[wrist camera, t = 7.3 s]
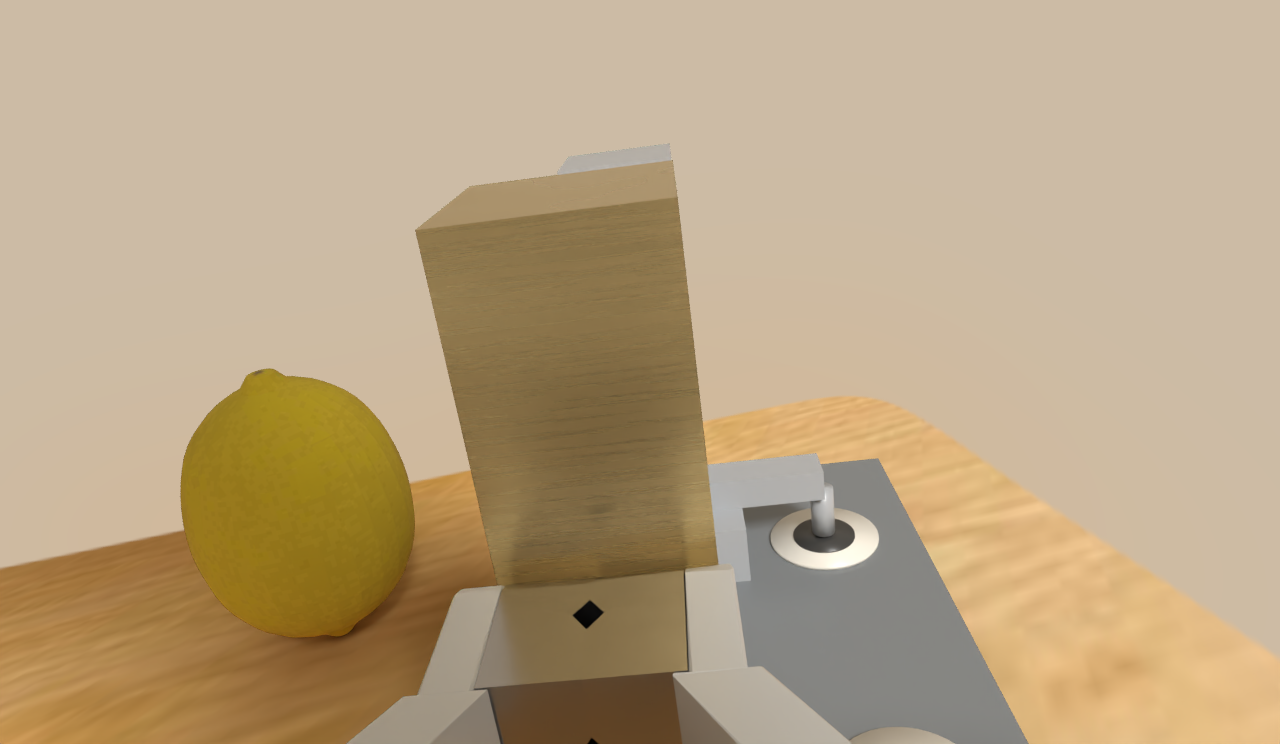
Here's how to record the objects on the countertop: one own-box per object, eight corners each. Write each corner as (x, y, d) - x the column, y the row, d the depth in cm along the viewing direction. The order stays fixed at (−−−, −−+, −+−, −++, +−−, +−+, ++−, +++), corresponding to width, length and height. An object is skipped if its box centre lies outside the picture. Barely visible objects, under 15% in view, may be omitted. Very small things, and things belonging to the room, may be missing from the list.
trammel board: (364, 1641, 8) (-282, 712, 4) (565, 532, 27) (494, 153, 22) (1420, 1625, 8) (2091, 490, 3) (879, 500, 26) (868, 104, 22)
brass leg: (534, 1031, 11) (317, 248, 7) (559, 836, 14) (410, 190, 10) (1011, 1002, 11) (1059, 154, 7) (939, 807, 14) (944, 121, 10)
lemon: (284, 583, 26) (203, 346, 23) (457, 563, 26) (398, 322, 23) (200, 716, 21) (82, 433, 18) (415, 692, 21) (331, 402, 18)
